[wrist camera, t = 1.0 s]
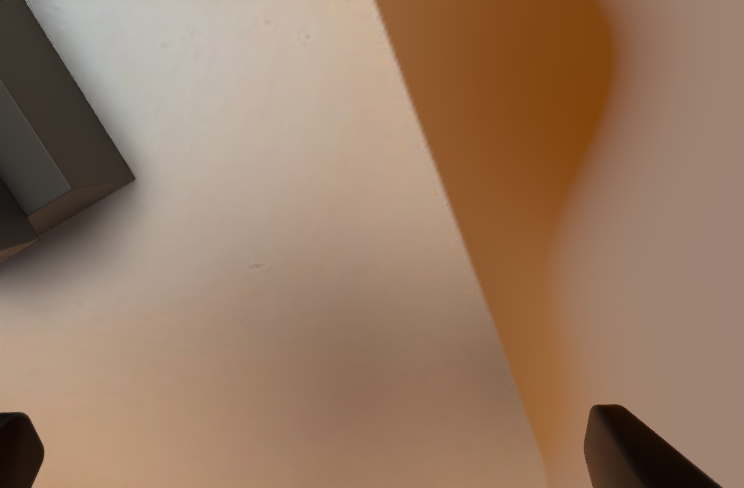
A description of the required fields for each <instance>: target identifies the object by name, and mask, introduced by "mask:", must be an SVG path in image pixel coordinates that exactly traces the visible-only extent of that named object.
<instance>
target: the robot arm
mask: <svg viewBox="0 0 744 488" xmlns="http://www.w3.org/2000/svg"><path fill="white" fill-rule="evenodd" d="M584 454H585V459H586V463H587V467H588V471H589V474H590V478H591V482H592V486H593V488H722V487H721V486H720V485H719V484H718V483H716V482H715V481H714V480H713V479H711V478H710V477H709V476H708V475H707V474H705V473H704V472H703V471H702V470H700V469H699V468H698V467H697V466H696V465H694V464H693V463H692V462H691V461H689V460H688V459H687V458H686V457H684V456H683V455H682V454H681V453H680V452H678V451H677V450H676V449H675V448H673V447H672V446H671V445H670V444H668V443H667V442H666V441H665V440H664V439H662V438H661V437H660V436H659V435H658V434H656V433H655V432H654V431H653V430H652V429H650V428H649V427H648V426H647V425H645V424H644V423H643V422H642V421H640V420H639V419H638V418H637V417H636V416H634V415H633V414H632V413H630V411H628V410H627V409H626V408H624V407H623V406H621V405H616V404H613V405H594V406H593V407H592V408H591V410H590V414H589V419H588V424H587V429H586V435H585V440H584ZM43 459H44V446H43V444H42V442H41V440H40V438H39V436H38V434H37V432H36V430H35V428H34V426H33V424H32V422H31V420H30V418H29V417H28V415H26V414H25V413H22V412H2V413H0V488H31V487H32V485H33V483H34V481H35V478H36V476H37V474H38V472H39V469H40V467H41V465H42V462H43Z"/></svg>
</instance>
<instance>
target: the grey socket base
mask: <svg viewBox="0 0 744 488" xmlns="http://www.w3.org/2000/svg"><path fill="white" fill-rule="evenodd" d="M134 179H135V178H134V176H133V175H132V173H131V171H130V170H129V168H128V167H127V165H126V163H125V162H124V160H123V159H122V157H121V155H120V154H119V152H118V151H117V149H116V147H115V146H114V144H113V143H112V141H111V139H110V138H109V136H108V135H107V133H106V131H105V130H104V128H103V127H102V125H101V123H100V122H99V120H98V119H97V117H96V115H95V114H94V112H93V111H92V109H91V107H90V106H89V104H88V103H87V101H86V99H85V98H84V96H83V95H82V93H81V91H80V90H79V88H78V87H77V85H76V83H75V82H74V80H73V79H72V77H71V75H70V74H69V72H68V71H67V69H66V67H65V66H64V64H63V63H62V61H61V59H60V58H59V56H58V55H57V53H56V51H55V50H54V48H53V47H52V45H51V43H50V42H49V40H48V39H47V37H46V35H45V34H44V32H43V31H42V29H41V27H40V26H39V24H38V23H37V21H36V19H35V18H34V16H33V15H32V13H31V11H30V10H29V8H28V7H27V5H26V3H25V2H24V0H0V262H2V261H3V260H5V259H7V258H9V257H10V256H11V255H13V254H16V253H17V252H19V251H21V250H22V249H24V248H26V247H28V246H29V245H31V244H33V243H34V242H36V241H38V240H39V239H40V236H39V235H41V234H43V233H44V232H46V231H48V230H50V229H51V228H53V227H55V226H56V225H58V224H60V223H61V222H63V221H65V220H67V219H68V218H70V217H72V216H73V215H75V214H77V213H78V212H80V211H82V210H84V209H85V208H87V207H89V206H90V205H92V204H94V203H95V202H97V201H99V200H101V199H102V198H104V197H106V196H107V195H109V194H111V193H112V192H114V191H116V190H118V189H119V188H121V187H123V186H124V185H126V184H128V183H129V182H131V181H133V180H134Z"/></svg>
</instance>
